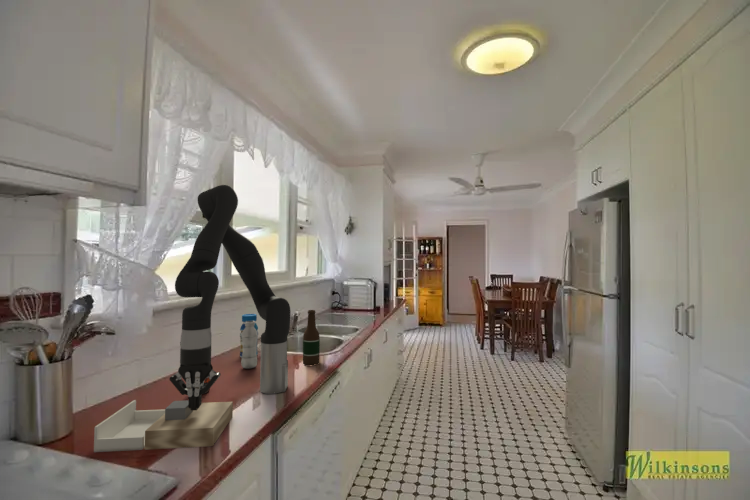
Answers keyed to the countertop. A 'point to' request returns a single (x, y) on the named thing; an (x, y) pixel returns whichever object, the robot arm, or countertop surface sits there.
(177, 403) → the grey block
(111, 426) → the box
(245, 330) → the plastic bottle
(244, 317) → the beverage bottle
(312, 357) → the beer bottle
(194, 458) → the countertop surface
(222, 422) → the board
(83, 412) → the countertop surface
